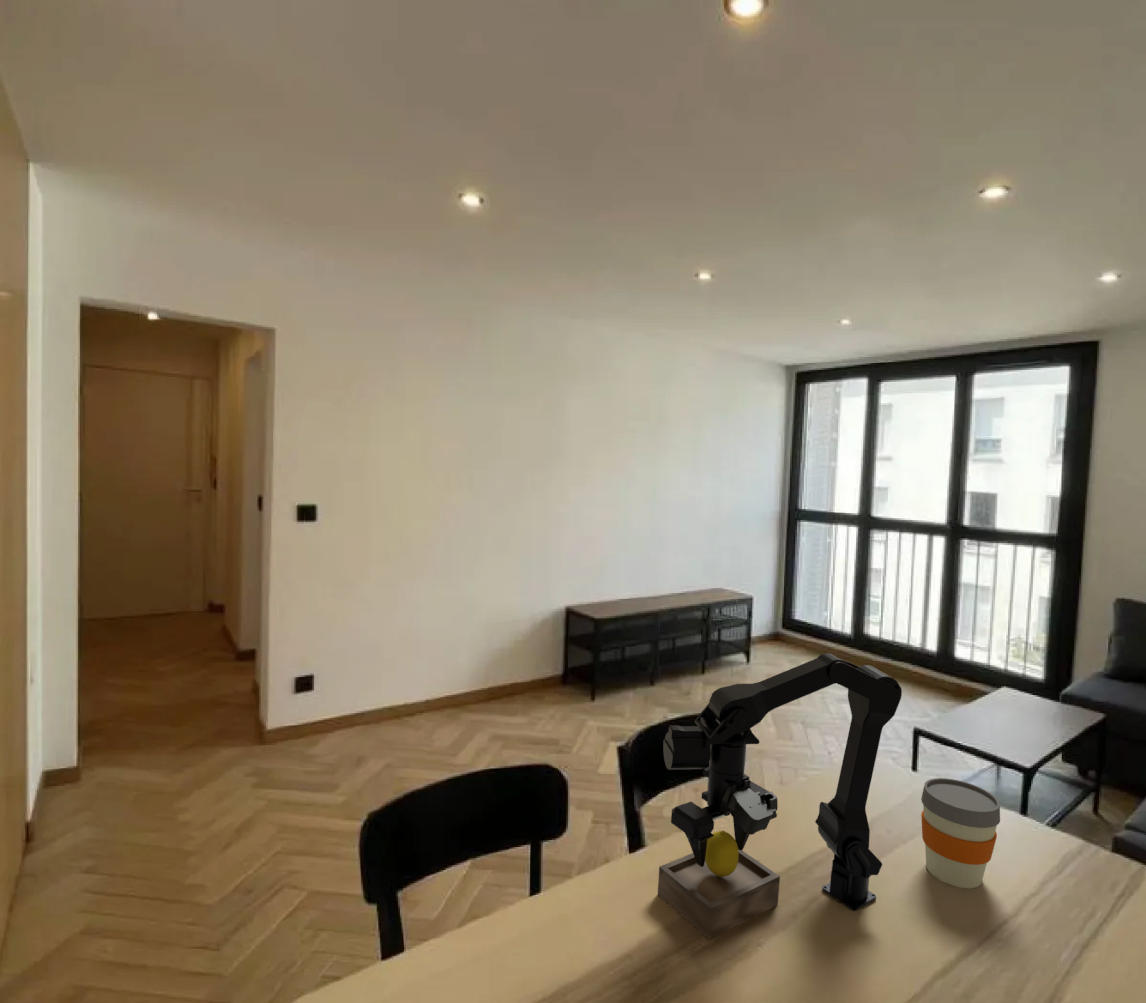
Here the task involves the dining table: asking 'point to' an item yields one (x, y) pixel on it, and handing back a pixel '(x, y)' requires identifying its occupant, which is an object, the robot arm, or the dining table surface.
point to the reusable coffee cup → (958, 830)
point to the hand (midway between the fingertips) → (720, 857)
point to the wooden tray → (718, 892)
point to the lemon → (722, 854)
